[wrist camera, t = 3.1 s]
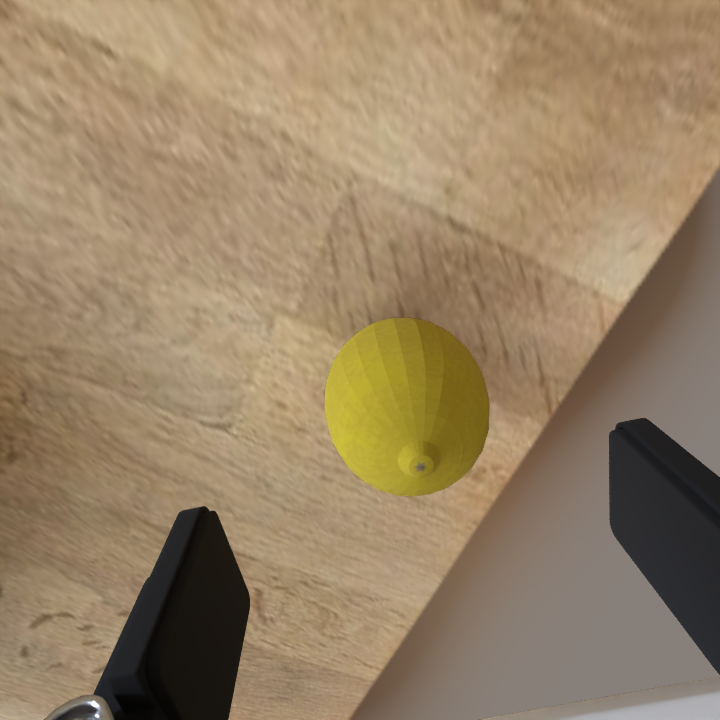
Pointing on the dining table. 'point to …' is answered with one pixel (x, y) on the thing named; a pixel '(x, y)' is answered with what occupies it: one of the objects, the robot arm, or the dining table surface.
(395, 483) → the lemon
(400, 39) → the dining table surface
